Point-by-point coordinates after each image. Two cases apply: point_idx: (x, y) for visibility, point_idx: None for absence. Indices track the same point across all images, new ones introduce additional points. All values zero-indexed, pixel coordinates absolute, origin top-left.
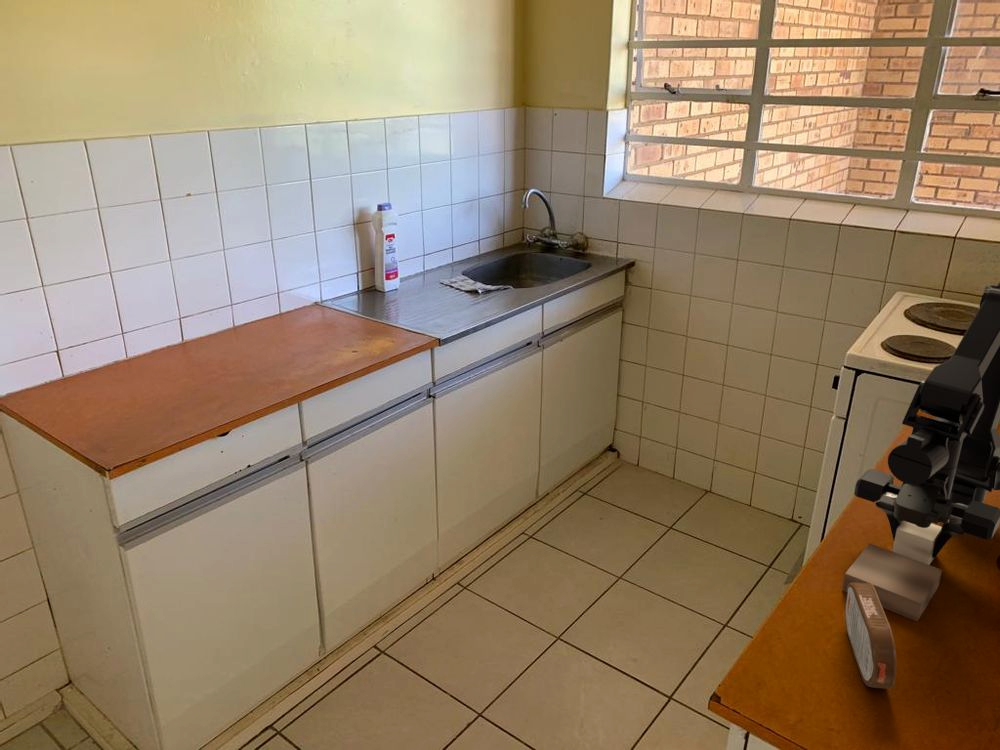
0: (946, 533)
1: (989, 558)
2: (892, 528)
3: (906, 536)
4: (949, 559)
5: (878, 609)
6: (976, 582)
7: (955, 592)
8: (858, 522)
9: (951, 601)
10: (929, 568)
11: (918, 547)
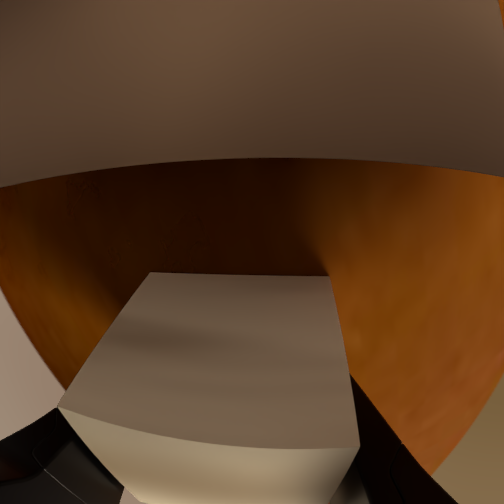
0: (2, 462)
1: None
2: (381, 432)
3: (260, 408)
4: None
5: None
6: (26, 296)
7: None
8: (462, 399)
9: None
10: (13, 138)
11: (170, 354)
